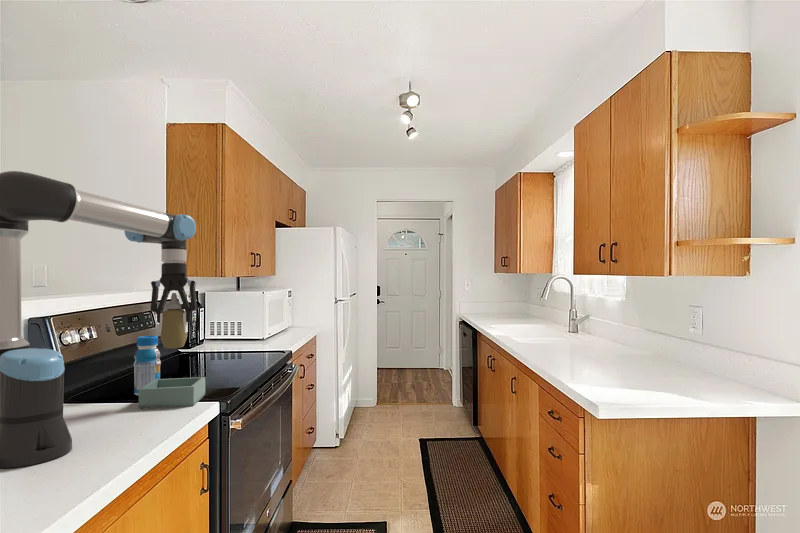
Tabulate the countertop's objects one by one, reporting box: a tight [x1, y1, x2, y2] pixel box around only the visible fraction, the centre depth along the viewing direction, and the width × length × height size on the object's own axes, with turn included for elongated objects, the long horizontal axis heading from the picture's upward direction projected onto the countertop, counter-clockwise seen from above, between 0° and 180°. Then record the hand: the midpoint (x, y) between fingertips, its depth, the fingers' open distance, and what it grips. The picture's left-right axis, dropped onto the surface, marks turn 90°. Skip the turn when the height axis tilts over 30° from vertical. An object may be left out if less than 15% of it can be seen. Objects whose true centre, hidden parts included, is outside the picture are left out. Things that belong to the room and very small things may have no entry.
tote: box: [138, 376, 206, 409], centre depth 156 cm, size 16×16×6 cm
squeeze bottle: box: [160, 292, 188, 350], centre depth 157 cm, size 8×8×18 cm
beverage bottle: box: [133, 335, 162, 396], centre depth 169 cm, size 8×8×20 cm
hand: (174, 332), depth 157 cm, fingers closed on squeeze bottle, 6 cm apart
